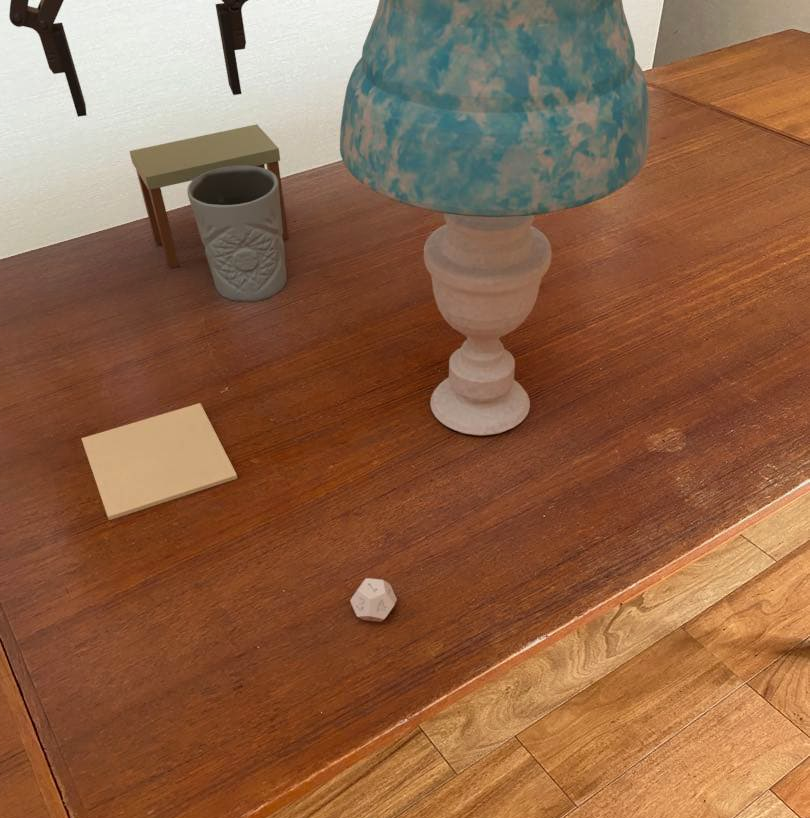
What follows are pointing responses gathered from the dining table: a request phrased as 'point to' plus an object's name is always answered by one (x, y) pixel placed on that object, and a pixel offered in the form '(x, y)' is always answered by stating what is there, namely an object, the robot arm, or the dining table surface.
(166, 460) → the mat
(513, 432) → the dining table surface
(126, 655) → the dining table surface
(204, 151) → the side table
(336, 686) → the dining table surface
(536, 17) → the table lamp
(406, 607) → the dining table surface
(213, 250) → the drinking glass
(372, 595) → the game die
